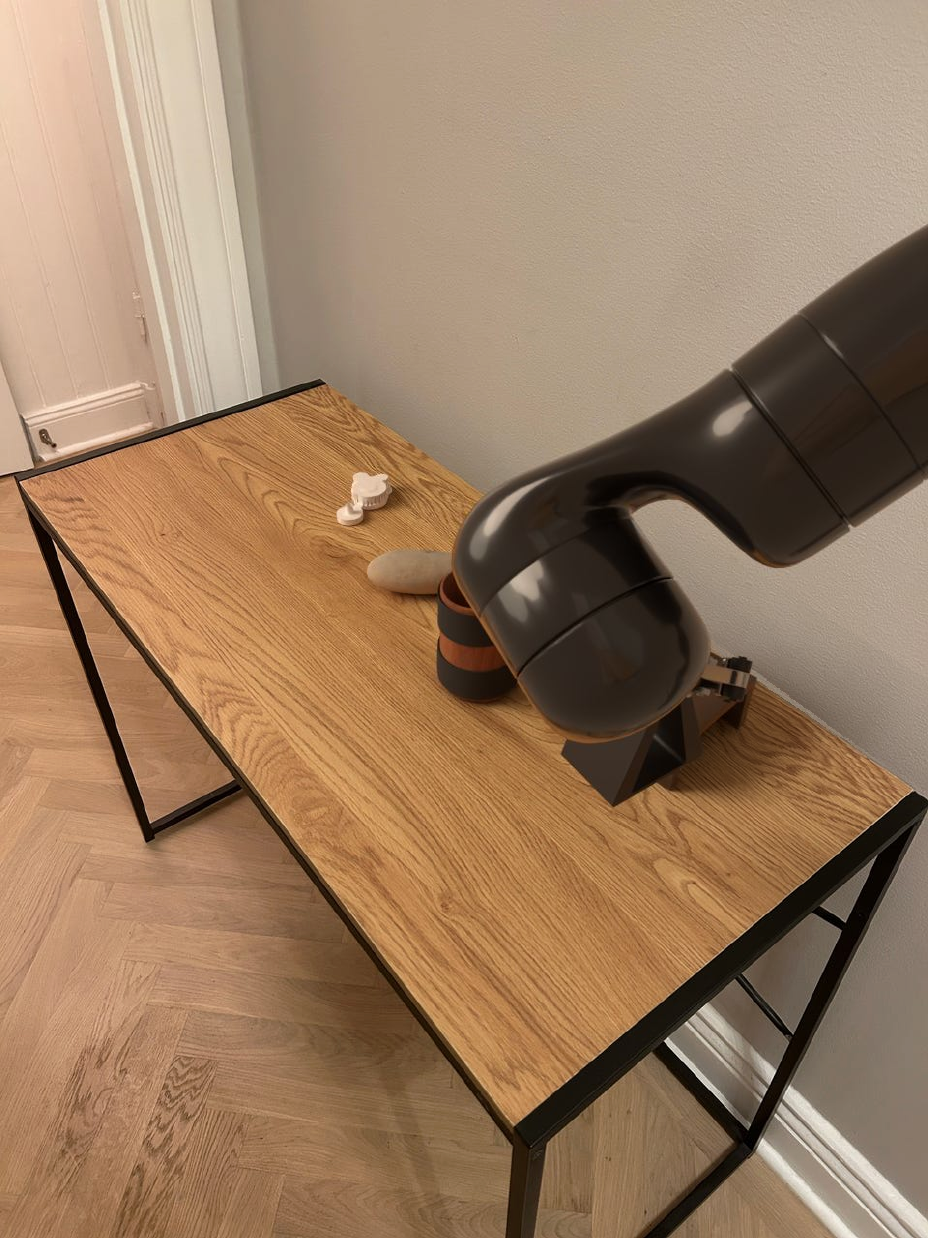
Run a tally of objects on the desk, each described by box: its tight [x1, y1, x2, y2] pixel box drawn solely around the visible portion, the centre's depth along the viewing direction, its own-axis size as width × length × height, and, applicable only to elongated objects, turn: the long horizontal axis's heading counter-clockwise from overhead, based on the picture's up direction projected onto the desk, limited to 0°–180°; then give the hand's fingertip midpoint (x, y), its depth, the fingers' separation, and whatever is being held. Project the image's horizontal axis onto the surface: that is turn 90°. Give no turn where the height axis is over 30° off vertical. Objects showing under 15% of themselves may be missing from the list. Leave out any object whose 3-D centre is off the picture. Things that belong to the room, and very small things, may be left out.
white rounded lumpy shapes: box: [336, 464, 393, 527], centre depth 119 cm, size 9×9×2 cm
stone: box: [366, 548, 452, 595], centre depth 105 cm, size 6×6×12 cm
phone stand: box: [560, 696, 705, 808], centre depth 67 cm, size 9×6×12 cm, turn 123°
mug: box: [436, 571, 519, 704], centre depth 92 cm, size 9×12×12 cm
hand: (647, 666), depth 67 cm, fingers closed on phone stand, 6 cm apart
